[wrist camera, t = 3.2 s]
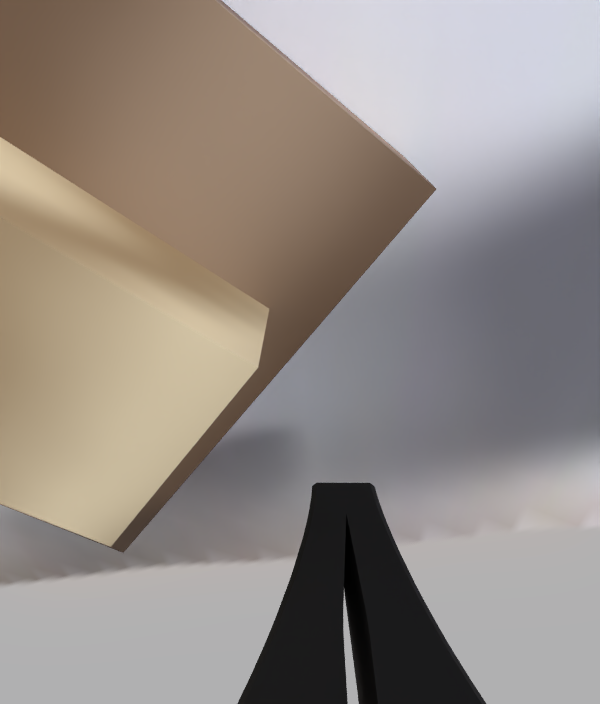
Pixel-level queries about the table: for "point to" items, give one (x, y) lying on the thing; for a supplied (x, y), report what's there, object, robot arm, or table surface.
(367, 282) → the table surface
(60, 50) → the block
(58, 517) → the birch tile
